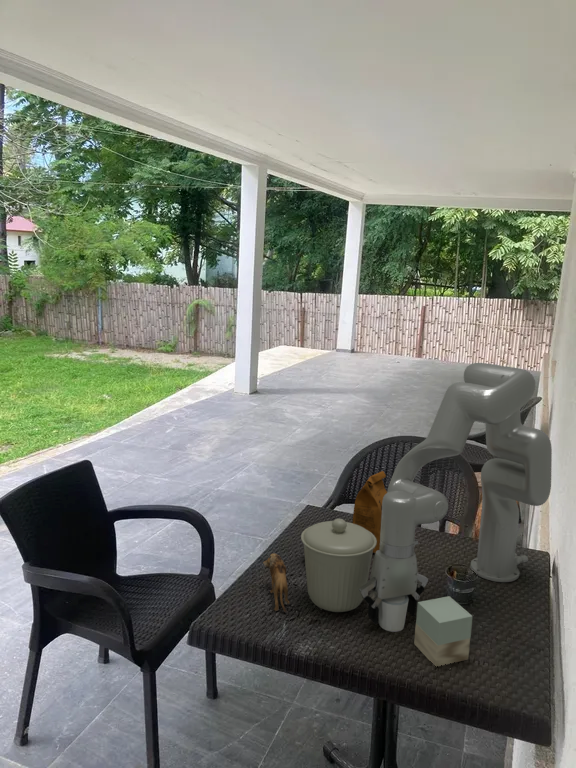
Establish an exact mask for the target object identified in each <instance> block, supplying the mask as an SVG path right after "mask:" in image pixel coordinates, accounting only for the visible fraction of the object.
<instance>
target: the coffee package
mask: <svg viewBox="0 0 576 768" xmlns="http://www.w3.org/2000/svg"><path fill="white" fill-rule="evenodd" d="M385 478H386V473H385V471H383V470H382V471H379V472H377V473H375V474H373V475H370V476H369V477H368V479H367V480H366V482H365V484H364V485H363V486H362V487H361V489H360V490H359V491H358V493H357V494H356V497H355V501H354V506H353V511H352V513H353V515H352V523H353V524H356V525H359V526H361V527H363V528H365V529H366V530H368V531H370V532H371V533H372V534H373V535H374V536H375V538H376V540H377V544H376V546H375V548H374V549H373V553H374V554H375V553H376V551H377V550H379V549H380V533H381V517H382V501H383V497H384V495H385V494H386V493H387V491H388V490H387V489H386V488H385V485H384V479H385ZM373 553H372V554H373Z"/></svg>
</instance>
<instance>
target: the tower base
mask: <svg viewBox="0 0 576 768" xmlns="http://www.w3.org/2000/svg"><path fill="white" fill-rule="evenodd" d="M414 627H415V630H414V640H413V641H414V643H413V644H414V646H416V648H418V650H419V651H420V652H421V653H422V654H423V655H424V656H425V657H426V659H427V660H428V661H431V662H432V663H433V664H434V665H435V666H436V667H435V666H434V665H433V664H432V665H433V666H434V667H435V668H437V666H438V667H441V665H442V666H446V665H450V663H451V664H454V662H455V663H459V662H461V661H467V660H469V656H470V655H469V654H470V645H471V644H470V643H471V642H470V641H471V638H469V639H464V640H460V641H456V642H451V643H447V644H442V645H437V644H436V643H435V642H434V641H433V640H432V639H431V638H430V637H429V636H428V635H427V634H426V633H425V632H424V631H423V630H422V629H421V628H420V627H419V626H418V625H417V624H416V623H415V626H414ZM431 662H430V663H431ZM445 664H446V665H445Z"/></svg>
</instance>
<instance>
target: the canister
mask: <svg viewBox="0 0 576 768" xmlns="http://www.w3.org/2000/svg"><path fill="white" fill-rule="evenodd" d="M300 539H301V542H302V544H303V551H304V553H303V554H304V564H305V566H304V567H305V576H306V577H305V578H306V584H307V585H306V586H307V593H308V596H309V599H310V600H311V601H312V603H313V604H314V605H315V606H317V607H318V608H319V609H321V610H324V611H327V612H332V613H345V612H349V611H352V610H355V609H357V608H358V607H359V606H360V605H361V603H362V602H363V600H364V599H363V598H362V595H361V594H360V592H359V588H360V587H361V586H363V585H364V584H366V583H367V582H369V574H370V569H371V565H372V558H373V549H374V548H375V546H376V544H377V540H376V538H375V536H374V535H373V534H372V533H371V532H370V531H368V530H366V529H365V528H363V527H361V526H359V525H356V524H353V522H348V521H346V520H344V519H343V518H335V519H334V520H327V521H322V522H318V523H315V524H312V525H310V526H308V527H306V528H305V529H304V530H303V531H302V533H300Z"/></svg>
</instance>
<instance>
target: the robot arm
mask: <svg viewBox="0 0 576 768" xmlns="http://www.w3.org/2000/svg"><path fill="white" fill-rule="evenodd" d="M535 388H536V379H535V377H534V375H533V374H532V373H531V371H528V370H526V369H523V368H520V367H518V368H517V367H511V366H505V365H498V364H493V363H484V362H473V363H471V364H469V365H467V366H466V367H465V369H464V371H463V382H462V381H461V382H455V383H452V384H451V385H449V386H448V388H446V391H445V392H444V396H443V398H442V400H441V402H440V405H439V408H438V410H437V413H436V416H435V418H434V420H433V422H432V425H431V427H430V430H429V433H428V434H427V436H426V438H425V439H424V440H423V441H421V442H420V443H418V444H417V445H415V446H414V447H413V448H411V449H410V450H409V451H408V452H407V453H406V454H405V455H404V456H402V458H401V459H400V460H399V462H398V463H397V465H396V467H395V469H394V471H393V474H392V477H391V479H390V482H389V484H388V488H387V490H386V491H387V493H386V494H385V495H384V497H383V501H382V517H381V533H380V549H379V550H377V551H376V553H374V557H373V561H372V563H371V568H370V569H371V571H370V577H369V578H370V579H369V580H368V581H367V583H366V584H364V585H363V586H361V587H360V588H359V592H360V594H361V595H362V598H363V600H364V602H366V603H367V604H368V605H367V606H368V607H367V609H368V610H367V617H368V619H369V620H370V621H371V622H372V623H373V624H374V625H378V624H379V606H378V604H379V603H380V602H381V600H382V599H388V598H393V597H399V596H404V595H407V596H408V598H409V601H408V606H407V612H406V613H408V614H409V615H410V616H411V617H416V614H417V605H418V600H419V599H420V598H421V595H422V593H423V592H424V591H425V587H426V585H427V584H428V582H429V579H428V577H426V576H425V575H423V574H420V573H419V572H418V561H417V560H418V559H417V555H416V552H415V547H416V546H418V545H419V541H418V540H419V539H417V538H416V537H415V535H416V527H417V526H418V525H427V524H434V523H437V522H440V521H441V520H442V519H443V518H445V516H446V514H447V513H448V510H449V502H448V501H449V500H448V499H447V497H446V496H445V494H443V493H442V492H440V491H438V490H436V489H435V488H434V489H433V488H431V487H428V486H425V485H423V484H420V483H417V482H414V480H415V478H416V476H417V474H418V473H419V471H420V470H421V468H423V467H424V466H426V465H427V464H429V463H431V462H434V461H437V460H439V459H445V458H451V457H456V456H459V455H461V454H462V453H463V451H464V449H465V446H466V443H467V440H468V437H469V435H470V434H471V431H472V428H473V425H474V424H475V422H478V423H482V424H485V444H486V445H485V446H486V449H487V451H488V453H490V455H492V456H494V458H491V459H489V460H487V461H486V462H484V464H483V466H482V467H481V470H480V483H481V484H480V485H481V491H482V493H481V495H482V498H481V500H482V501H481V503H482V504H481V513H480V524H479V525H480V526H479V534H478V547H477V556H476V557H475V558H473V559H472V560H471V561H470V569H471V570H472V569H473V570H474V571H475V572H476V573H477V574H478V575H477V574H476V575H477V576H478V577H480V578H483V579H485V580H486V581H487V580H488V581H492V582H496V583H510V582H514V581H516V580H517V579H519V577H520V569H519V568H518V566H519V565H520V564H524V563H528V561H529V558H528V556H527V555H525V554H524V555H519V556H518V553H516V551H517V550H516V548H517V539H518V531H519V529H518V528H519V521H520V520H519V519H520V509H519V506H518V505H519V504H517V503H523V504H524V505H528V506H533V507H540V506H543V505H544V504H545V503H546V502H547V501H548V499H549V497H550V493H551V491H552V465H553V464H552V461H553V460H552V459H553V458H552V456H553V455H552V454H553V453H552V442H551V439H550V437H549V435H548V434H547V433H546V432H545V431H543V430H541V429H538V428H534V427H531V426H530V427H529V426H527V425H524V424H522V420H521V419H522V418H521V408H522V407H524V406H525V405H526V404H527V403H528V402H529V401H531V398H532V397H533V395H534V392H535V390H536V389H535ZM495 457H497V458H495ZM370 591H371V593H370V594H368V593H369V592H370Z"/></svg>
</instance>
